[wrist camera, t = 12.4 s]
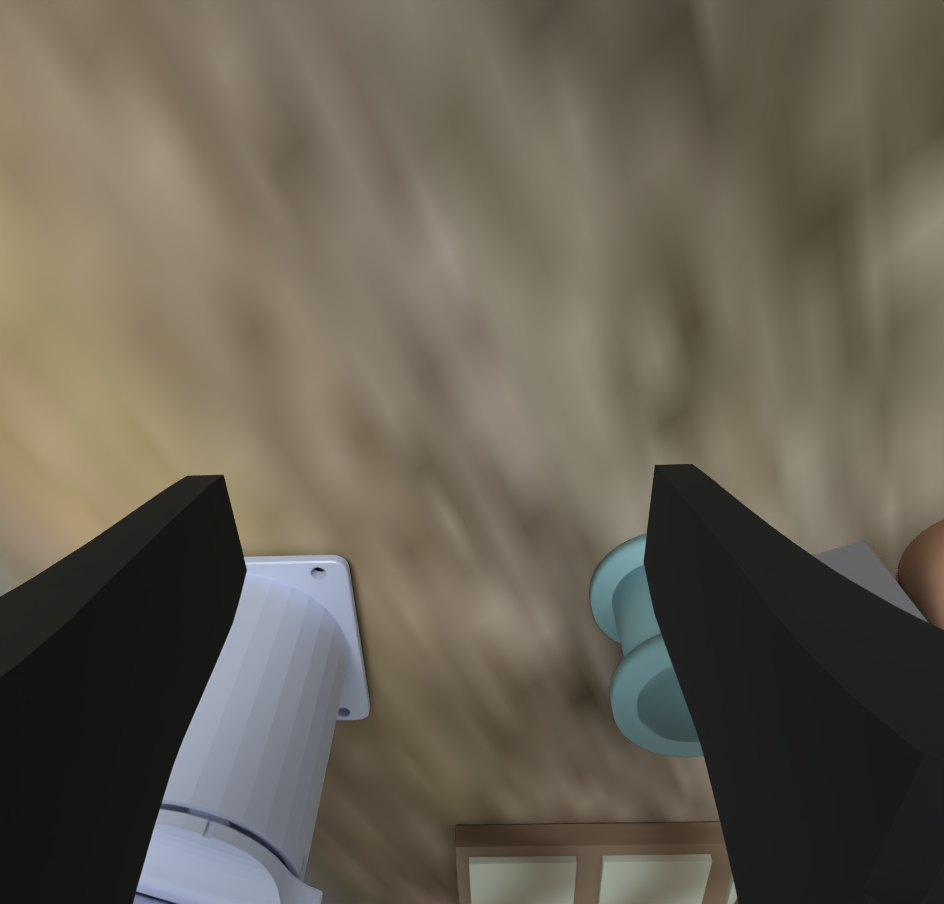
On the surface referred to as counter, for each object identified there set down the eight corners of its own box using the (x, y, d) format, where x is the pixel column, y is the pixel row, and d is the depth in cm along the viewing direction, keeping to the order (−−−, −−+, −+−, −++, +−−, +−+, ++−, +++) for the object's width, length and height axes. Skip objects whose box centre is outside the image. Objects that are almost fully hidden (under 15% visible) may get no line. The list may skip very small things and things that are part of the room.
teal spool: (585, 640, 26) (607, 758, 22) (593, 532, 24) (618, 642, 19) (720, 637, 26) (768, 755, 22) (742, 529, 24) (801, 638, 19)
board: (462, 917, 36) (461, 945, 35) (455, 825, 32) (455, 853, 31) (814, 913, 36) (825, 942, 35) (853, 820, 32) (867, 848, 31)
